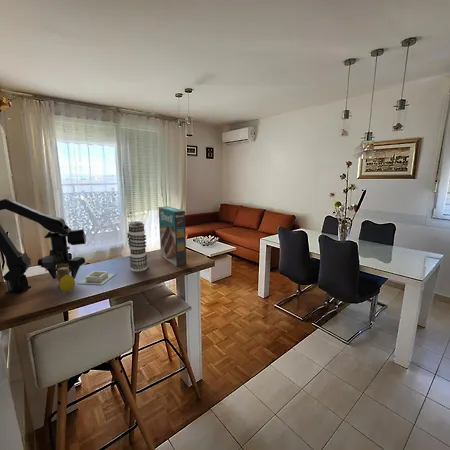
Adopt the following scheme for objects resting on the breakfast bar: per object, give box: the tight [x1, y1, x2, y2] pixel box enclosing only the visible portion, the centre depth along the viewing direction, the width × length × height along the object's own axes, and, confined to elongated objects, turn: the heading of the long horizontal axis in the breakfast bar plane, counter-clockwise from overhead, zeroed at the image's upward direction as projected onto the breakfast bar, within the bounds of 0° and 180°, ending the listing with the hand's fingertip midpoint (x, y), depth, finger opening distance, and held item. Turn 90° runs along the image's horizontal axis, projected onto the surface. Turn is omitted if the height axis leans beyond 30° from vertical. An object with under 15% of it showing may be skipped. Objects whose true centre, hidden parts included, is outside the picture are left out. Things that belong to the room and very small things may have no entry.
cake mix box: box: [158, 205, 187, 267], centre depth 142 cm, size 22×6×30 cm, turn 37°
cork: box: [56, 263, 71, 273], centre depth 125 cm, size 6×6×11 cm
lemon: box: [58, 274, 76, 293], centre depth 104 cm, size 6×6×8 cm
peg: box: [56, 267, 70, 283], centre depth 112 cm, size 4×4×7 cm
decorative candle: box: [126, 220, 148, 272], centre depth 129 cm, size 9×9×25 cm
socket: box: [76, 270, 117, 286], centre depth 118 cm, size 12×12×2 cm
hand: (64, 279), depth 113 cm, fingers open, 9 cm apart
